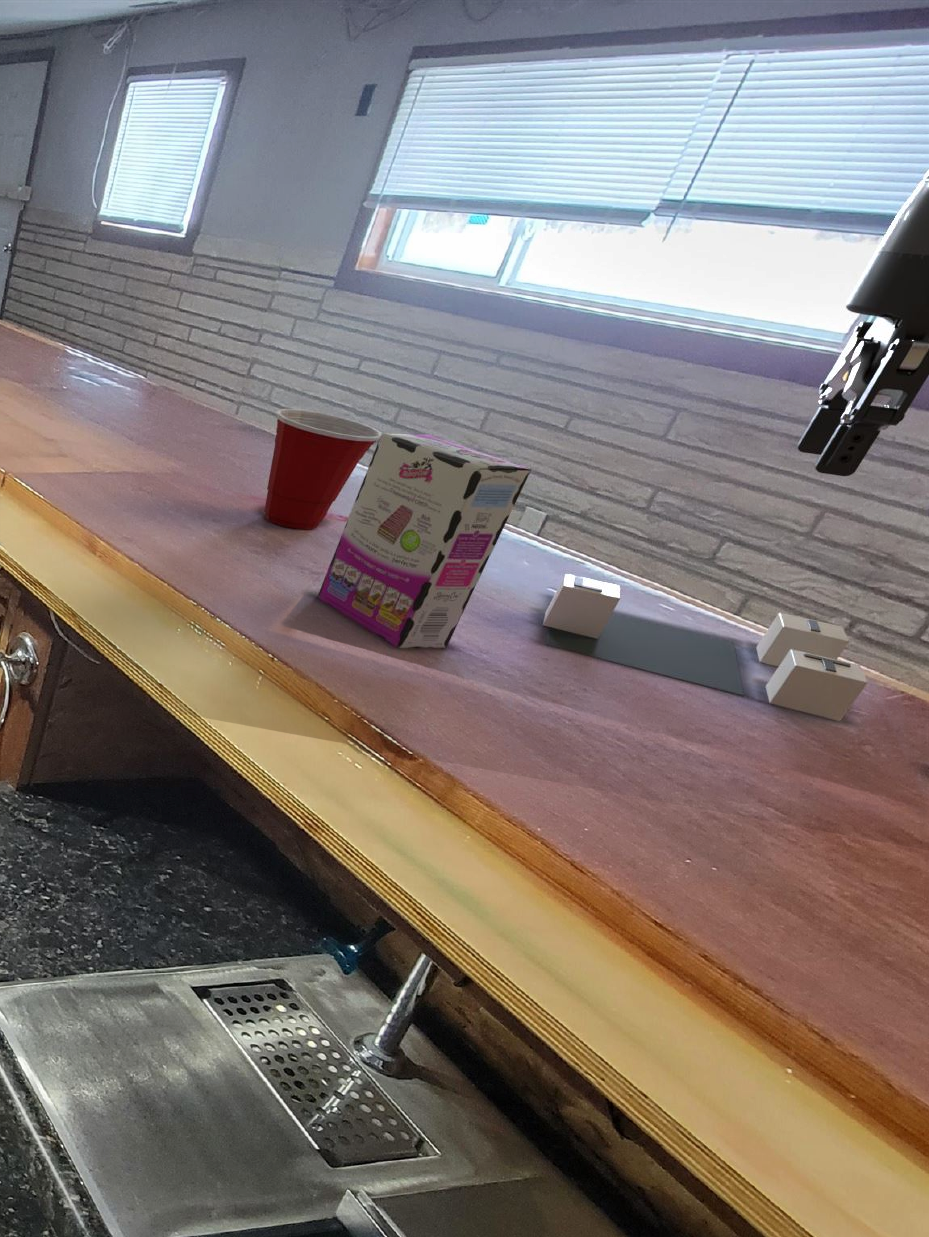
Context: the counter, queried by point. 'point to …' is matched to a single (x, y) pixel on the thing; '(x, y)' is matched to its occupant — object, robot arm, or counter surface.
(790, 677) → the tile
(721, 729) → the counter surface
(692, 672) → the word mat
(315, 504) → the plastic cup
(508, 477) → the candy bar box
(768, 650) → the tile
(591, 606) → the tile
